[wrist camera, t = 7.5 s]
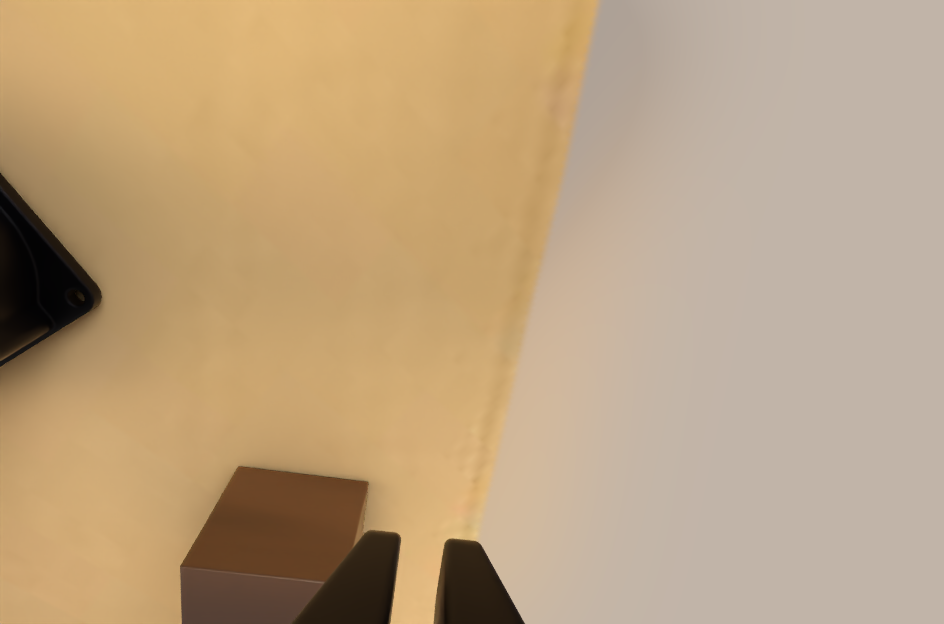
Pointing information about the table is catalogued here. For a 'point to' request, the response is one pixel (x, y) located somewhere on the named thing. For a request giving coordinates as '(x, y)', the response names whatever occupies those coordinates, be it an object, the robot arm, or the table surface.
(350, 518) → the block
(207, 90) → the table surface
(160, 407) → the table surface
